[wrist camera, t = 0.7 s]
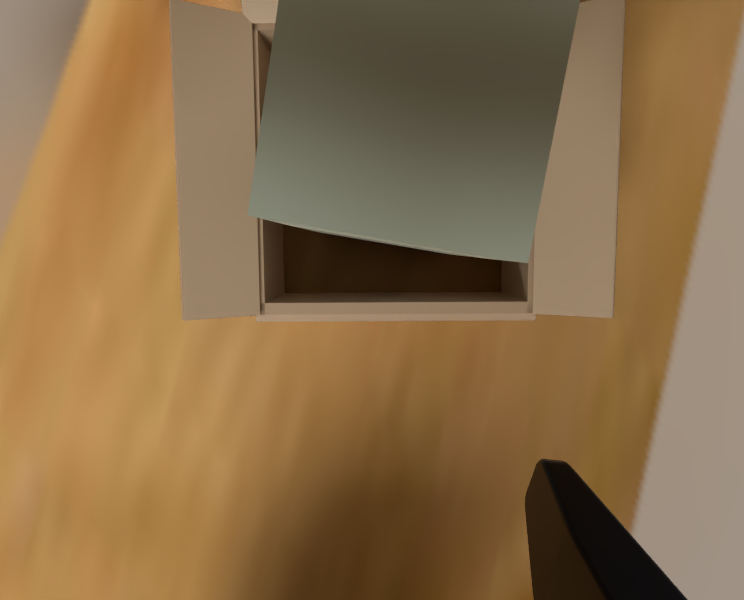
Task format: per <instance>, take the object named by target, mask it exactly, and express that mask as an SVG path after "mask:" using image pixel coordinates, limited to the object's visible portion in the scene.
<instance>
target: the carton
mask: <svg viewBox="0 0 744 600" xmlns="http://www.w3.org/2000/svg"><path fill="white" fill-rule="evenodd" d="M278 1H279V0H241V4H242V11H243V13H239V12H234V11H230V10H225V9H220V8H215V7H210V6H205V5H200V4H195V3H191V2H186V1H181V0H170V1H169V15H170V39H171V63H172V87H173V111H174V136H175V160H176V184H177V208H178V232H179V257H180V281H181V305H182V320H184V321H185V320H199V319H214V318H228V317H242V316H256V322H311V321H497V320H536V314H546V315H563V316H581V317H599V318H613V317H614V299H615V272H616V245H617V217H618V190H619V163H620V136H621V108H622V81H623V54H624V27H625V0H590V1H585V2H581V3H579V8H578V13H577V19H576V24H575V29H574V34H573V39H572V44H571V49H570V54H569V59H568V64H567V69H566V74H565V79H564V84H563V89H562V95H561V100H560V105H559V110H558V115H557V120H556V125H555V130H554V135H553V140H552V145H551V150H550V155H549V160H548V165H547V171H546V176H545V181H544V186H543V191H542V196H541V201H540V206H539V211H538V216H537V221H536V226H535V231H534V236H533V241H532V247H531V252H530V257H529V262H528V263H522V262H513V261H504V260H502V277H501V292H400V293H285V289H284V245H283V224H281V223H277V222H273V221H269V220H264V219H260V218H256V217H252V216H247V215H248V208H249V201H250V194H251V187H252V180H253V173H254V166H255V159H256V152H257V146H258V139H259V132H260V125H261V118H262V111H263V104H264V97H265V90H266V83H267V76H268V70H269V63H270V56H271V49H272V42H273V35H274V28H275V21H276V14H277V7H278Z"/></svg>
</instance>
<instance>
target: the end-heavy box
mask: <svg viewBox="0 0 744 600" xmlns="http://www.w3.org/2000/svg"><path fill="white" fill-rule="evenodd" d="M579 3H580V0H279V1H278V7H277V14H276V21H275V28H274V35H273V42H272V49H271V56H270V63H269V70H268V76H267V83H266V90H265V97H264V104H263V111H262V118H261V125H260V132H259V139H258V146H257V152H256V159H255V166H254V173H253V180H252V187H251V194H250V201H249V208H248V215H247V216H252V217H256V218H260V219H264V220H269V221H273V222H277V223H281V224H286V225H290V226H294V227H298V228H303V229H307V230H311V231H315V232H319V233H324V234H330V235H336V236H342V237H348V238H354V239H360V240H365V241H371V242H377V243H383V244H389V245H395V246H401V247H407V248H412V249H418V250H424V251H430V252H436V253H442V254H451V255H460V256H468V257H477V258H486V259H495V260H504V261H513V262H522V263H528V262H529V257H530V252H531V247H532V241H533V236H534V231H535V226H536V221H537V216H538V211H539V206H540V201H541V196H542V191H543V186H544V181H545V176H546V171H547V165H548V160H549V155H550V150H551V145H552V140H553V135H554V130H555V125H556V120H557V115H558V110H559V105H560V100H561V95H562V89H563V84H564V79H565V74H566V69H567V64H568V59H569V54H570V49H571V44H572V39H573V34H574V29H575V24H576V19H577V13H578V8H579Z"/></svg>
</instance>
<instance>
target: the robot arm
mask: <svg viewBox="0 0 744 600" xmlns="http://www.w3.org/2000/svg"><path fill="white" fill-rule="evenodd" d="M525 512H526V523H527V534H528V544H529V555H530V566H531V577H532V587H533V597H534V600H687V599H686V597H685V596H684V595H683V594H682V593H681V592H680V591H679V590H678V588H677V587H676V586H675V585H674V584H673V583H672V581H671V580H670V579H669V578H668V577H667V576H666V575H665V574H664V572H663V571H662V570H661V569H660V568H659V567H658V565H657V564H656V563H655V562H654V561H653V560H652V559H651V557H650V556H649V555H648V554H647V553H646V552H645V551H644V550H643V548H642V547H641V546H640V545H639V544H638V543H637V541H636V540H635V539H634V538H633V537H632V536H631V535H630V533H629V532H628V531H627V530H626V529H625V528H624V526H623V525H622V524H621V523H620V522H619V521H618V520H617V518H616V517H615V516H614V515H613V514H612V513H611V512H610V510H609V509H608V508H607V507H606V506H605V505H604V504H603V502H602V501H601V500H600V499H599V498H598V497H597V496H596V494H595V493H594V492H593V491H592V490H591V489H590V488H589V486H588V485H587V484H586V483H585V482H584V481H583V480H582V478H581V477H580V476H579V475H578V474H577V473H576V472H575V470H574V469H573V468H572V467H571V466H570V465H569V464H568V463H566V462H564V461H560V460H550V459H541V460H539V461H538V463H537V464H536V467H535V470H534V472H533V475H532V478H531V481H530V484H529V486H528V489H527V492H526V497H525Z"/></svg>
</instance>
